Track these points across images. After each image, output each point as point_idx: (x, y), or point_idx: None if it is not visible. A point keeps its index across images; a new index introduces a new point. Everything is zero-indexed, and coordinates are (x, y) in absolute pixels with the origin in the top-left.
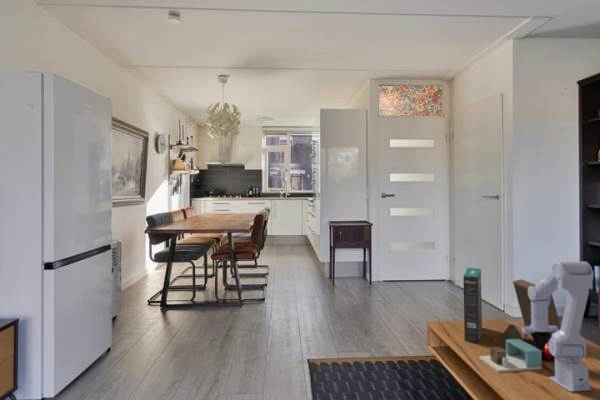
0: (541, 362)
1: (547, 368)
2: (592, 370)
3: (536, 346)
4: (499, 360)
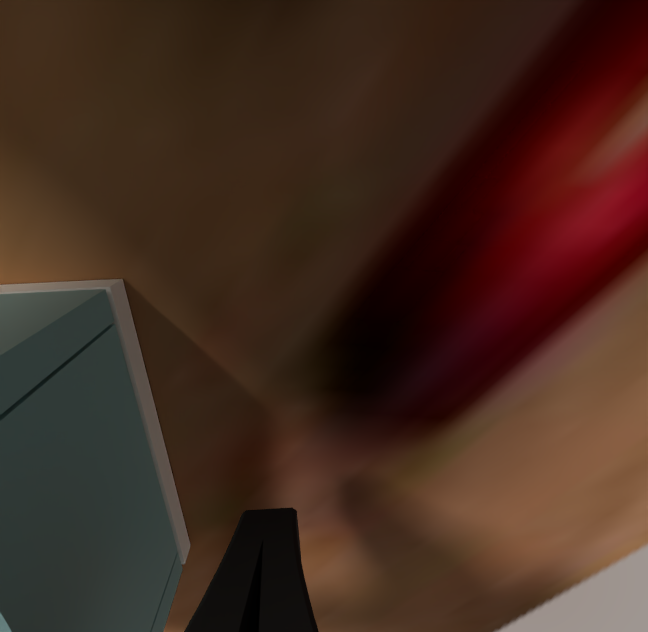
0: (168, 608)
1: None
2: (571, 579)
3: (230, 552)
4: None
